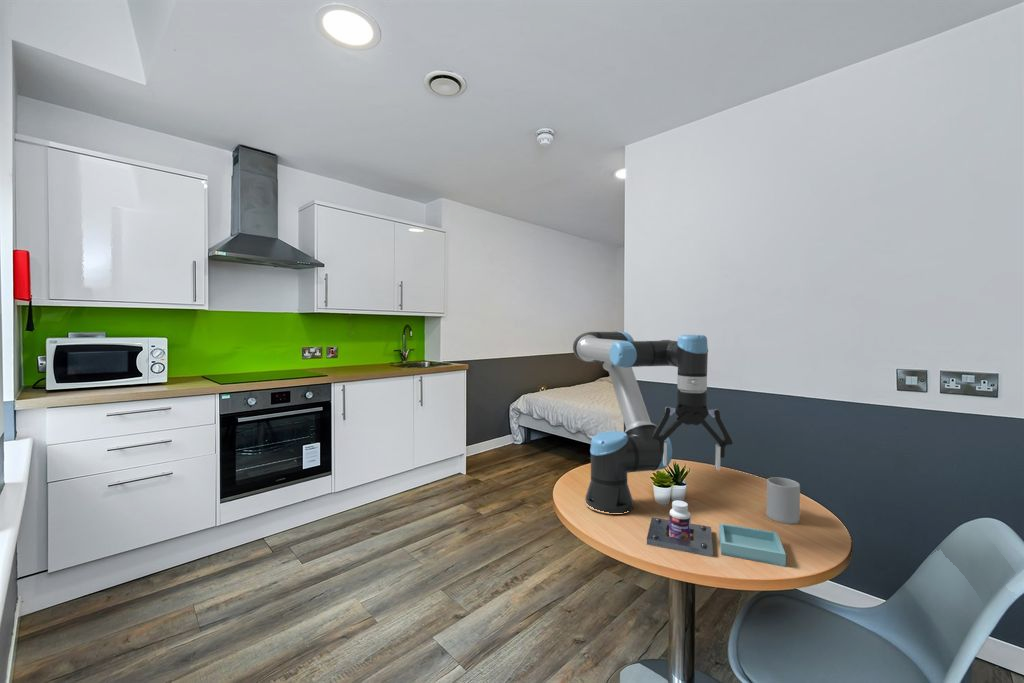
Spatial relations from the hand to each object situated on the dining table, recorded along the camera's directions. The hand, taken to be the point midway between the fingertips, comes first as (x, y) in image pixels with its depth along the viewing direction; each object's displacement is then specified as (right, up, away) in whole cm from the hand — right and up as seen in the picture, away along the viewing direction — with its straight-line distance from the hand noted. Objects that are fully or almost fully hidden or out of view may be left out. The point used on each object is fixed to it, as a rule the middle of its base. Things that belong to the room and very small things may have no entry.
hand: (690, 466), depth 118 cm
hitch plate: (-4, -19, -1) cm, 20 cm away
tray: (+12, -19, -7) cm, 24 cm away
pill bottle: (-4, -20, -1) cm, 20 cm away
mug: (+33, -19, +13) cm, 40 cm away
